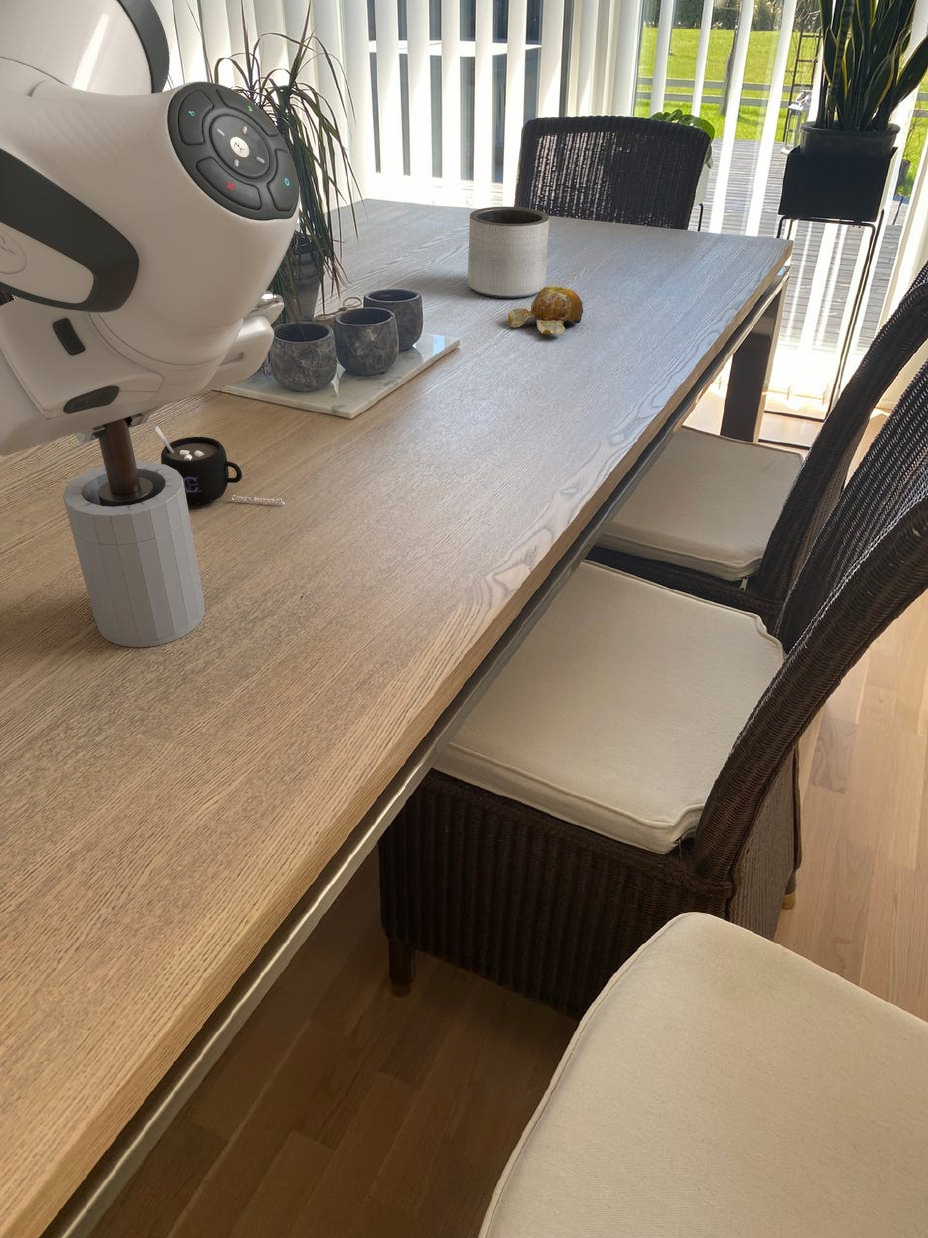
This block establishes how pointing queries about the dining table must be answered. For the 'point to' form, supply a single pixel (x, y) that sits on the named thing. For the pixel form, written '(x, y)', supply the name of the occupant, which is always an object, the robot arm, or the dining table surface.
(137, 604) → the gray cylindrical container
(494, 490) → the dining table surface
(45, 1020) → the dining table surface
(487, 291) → the planter
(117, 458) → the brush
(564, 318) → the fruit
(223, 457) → the mug
